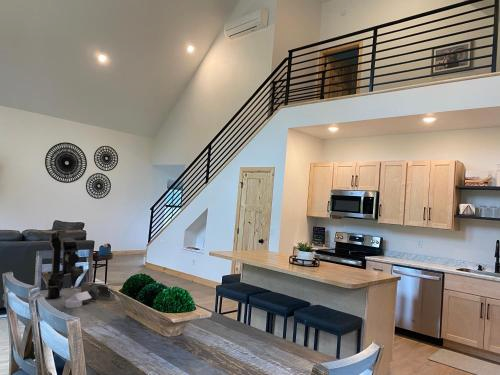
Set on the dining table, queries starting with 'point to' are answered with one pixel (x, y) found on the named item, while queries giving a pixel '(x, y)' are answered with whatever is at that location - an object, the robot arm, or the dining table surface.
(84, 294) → the wedge on round base
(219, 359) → the dining table surface
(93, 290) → the gauge plunger
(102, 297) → the gauge housing
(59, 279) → the robot arm
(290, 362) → the dining table surface
